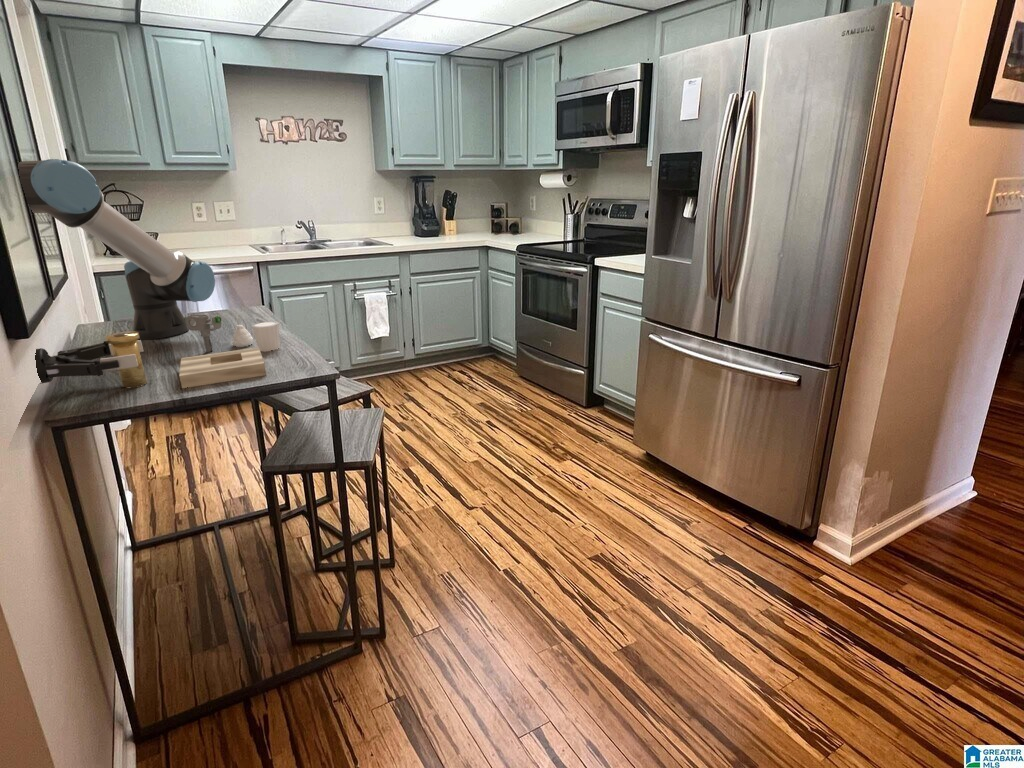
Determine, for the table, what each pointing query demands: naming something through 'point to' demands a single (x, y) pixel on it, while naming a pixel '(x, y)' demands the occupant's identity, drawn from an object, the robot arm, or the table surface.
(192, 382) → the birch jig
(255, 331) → the white cup
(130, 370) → the brass sleeve
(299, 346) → the table surface
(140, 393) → the table surface
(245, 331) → the garlic bulb
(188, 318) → the mechanical component
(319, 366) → the table surface
